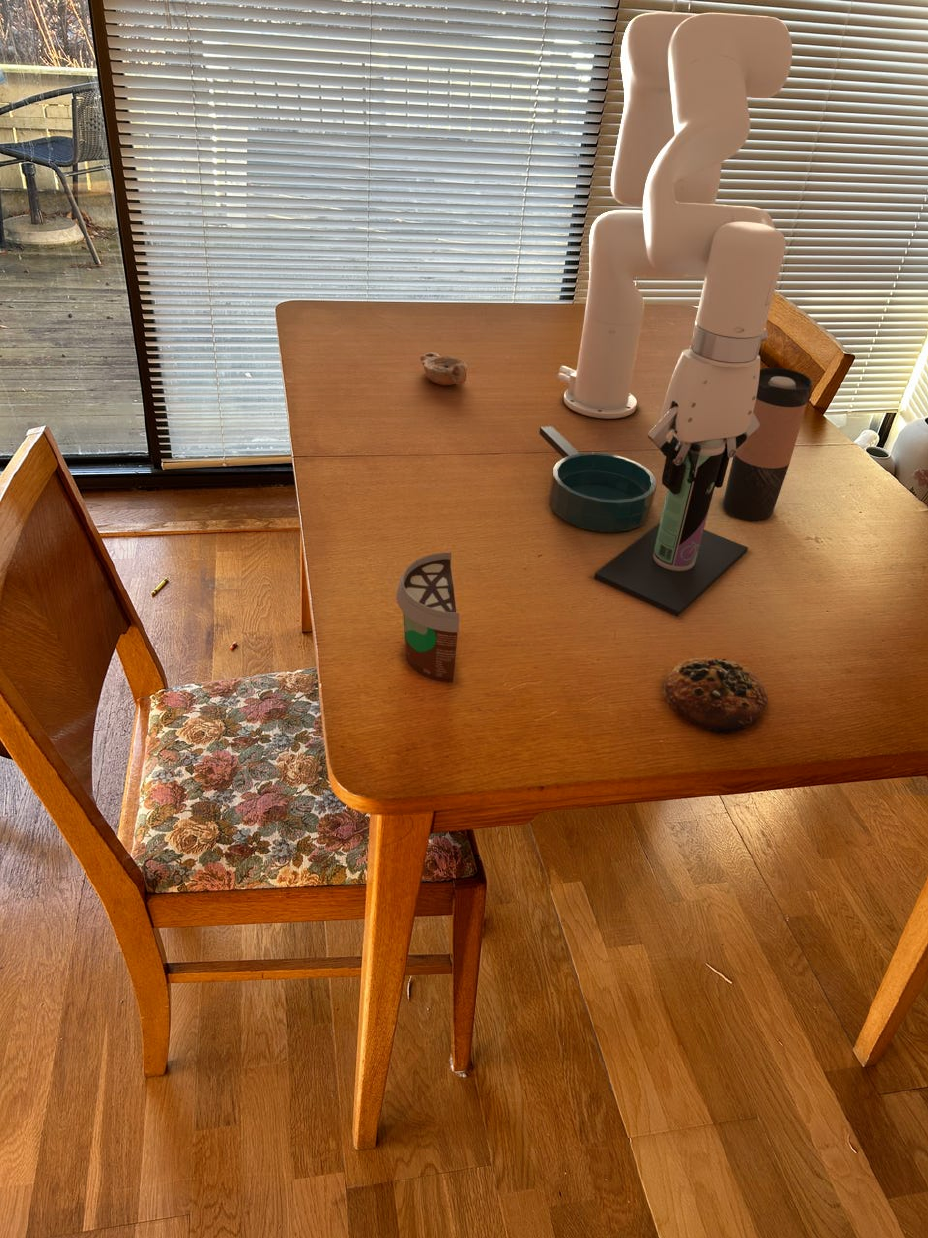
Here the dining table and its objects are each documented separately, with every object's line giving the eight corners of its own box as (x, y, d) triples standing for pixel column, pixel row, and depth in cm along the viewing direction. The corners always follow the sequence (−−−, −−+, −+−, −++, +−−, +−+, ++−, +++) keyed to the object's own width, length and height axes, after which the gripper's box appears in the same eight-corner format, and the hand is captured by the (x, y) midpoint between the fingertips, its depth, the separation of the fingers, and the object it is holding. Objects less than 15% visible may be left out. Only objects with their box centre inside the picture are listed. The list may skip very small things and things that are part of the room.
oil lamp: (410, 369, 169) (411, 342, 166) (447, 364, 172) (448, 338, 169) (442, 398, 160) (443, 370, 157) (480, 392, 163) (482, 365, 160)
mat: (593, 578, 118) (594, 573, 118) (668, 520, 131) (669, 515, 131) (677, 617, 113) (679, 611, 112) (747, 552, 126) (748, 547, 125)
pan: (529, 507, 131) (533, 476, 128) (583, 473, 141) (588, 443, 138) (616, 546, 125) (623, 513, 122) (667, 507, 134) (674, 476, 131)
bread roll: (700, 745, 95) (709, 704, 92) (640, 689, 103) (646, 650, 101) (786, 723, 99) (796, 683, 96) (721, 671, 107) (729, 633, 105)
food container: (393, 621, 108) (395, 549, 102) (446, 621, 109) (450, 549, 103) (396, 692, 99) (398, 616, 93) (454, 691, 99) (459, 616, 93)
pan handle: (585, 467, 137) (586, 459, 136) (573, 468, 136) (574, 461, 135) (550, 432, 145) (551, 425, 144) (539, 433, 144) (539, 426, 144)
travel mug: (775, 503, 137) (814, 373, 125) (771, 527, 131) (812, 394, 119) (723, 491, 139) (757, 362, 127) (717, 515, 133) (752, 383, 121)
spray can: (694, 574, 119) (732, 430, 107) (651, 567, 120) (684, 423, 108) (695, 551, 123) (731, 411, 111) (653, 544, 124) (684, 404, 112)
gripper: (767, 325, 110) (731, 463, 121) (642, 336, 104) (616, 480, 115) (808, 348, 104) (766, 491, 115) (678, 361, 99) (647, 510, 109)
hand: (691, 484), depth 115 cm, fingers closed on spray can, 5 cm apart
